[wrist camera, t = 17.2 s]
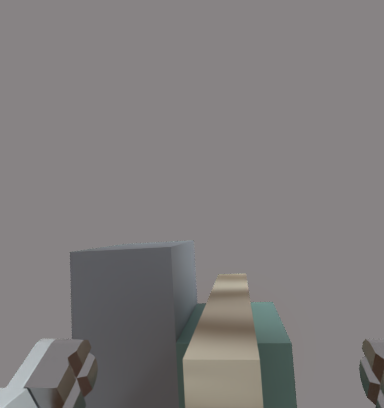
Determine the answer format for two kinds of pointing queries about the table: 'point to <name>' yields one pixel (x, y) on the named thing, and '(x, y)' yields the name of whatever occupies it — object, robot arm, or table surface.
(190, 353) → the ash rod
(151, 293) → the stepped riser
